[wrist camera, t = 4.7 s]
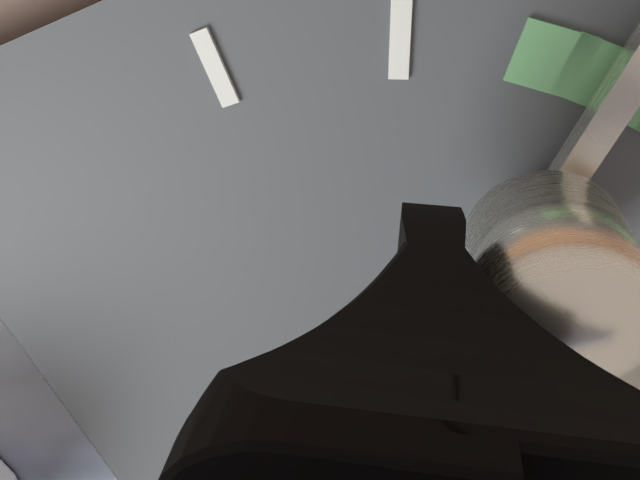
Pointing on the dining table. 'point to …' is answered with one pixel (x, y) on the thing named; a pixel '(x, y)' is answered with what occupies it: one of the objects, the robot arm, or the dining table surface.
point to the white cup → (6, 472)
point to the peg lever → (572, 235)
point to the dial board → (258, 174)
